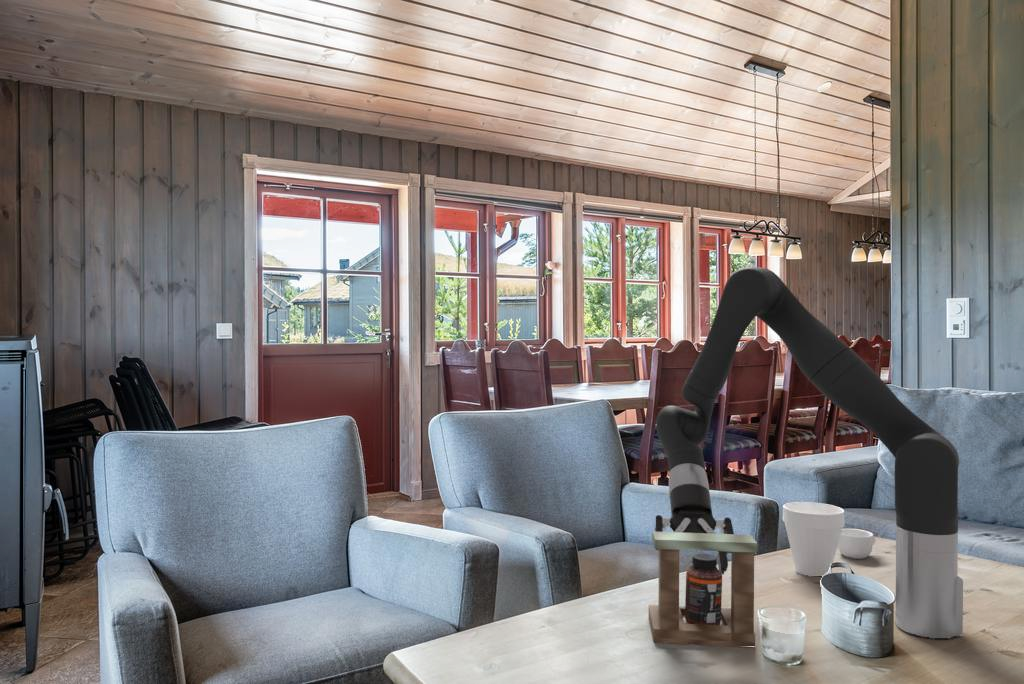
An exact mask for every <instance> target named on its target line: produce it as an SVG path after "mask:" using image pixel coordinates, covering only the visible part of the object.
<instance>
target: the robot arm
mask: <svg viewBox="0 0 1024 684" xmlns="http://www.w3.org/2000/svg"><path fill="white" fill-rule="evenodd" d="M719 299H720V300H719V304H718V307H717V310H716V313H715V316H714V318H713V322H712V324H711V327H710V329H709V333H708V334H707V337H706V339H705V341H704V344H703V346H702V348H701V351H700V352H699V354H698V356H697V358H696V360H695V363H694V364H693V366H692V368H691V370H690V372H689V374H688V376H687V378H686V380H685V381H684V383H683V386H682V388H681V395H682V397H683V398H684V400H686V401H687V402H688V403H690V404H691V405H693V406H695V409H694V410H693V411H692V410H689V409H686V408H682V407H679V406H677V405H673V404H672V405H666V406H664V407H663V408H661V409H660V411H659V412H658V414H657V416H656V421H655V422H656V425H655V427H656V432H657V436H658V438H659V442H660V444H661V447H662V448H663V451H664V453H665V456H666V458H667V464H668V495H669V502H670V515H671V517H670V518H663V516H662V515H659V514H658V515H656V516H655V521H654V532H665V531H666V529H667V527H668V526H669V528H671V530H672V532H681V533H711V534H717V532H716V531H715V529H716V528H717V529H718V530H719V531H720V533H721V534H735V532H734V527H733V523H732V520H731V518H730V517H725V518H724V520H722V519H721V520H716V519H715V517H714V514H713V511H712V510H713V509H712V508H713V507H712V501H711V494H710V486H709V485H710V484H709V479H708V477H707V473H706V467H705V458H704V454H703V451H702V449H701V448H700V446H699V445H701V444H702V443H703V442H704V441H705V440H706V439H707V436H708V434H709V430H710V424H711V418H712V414H713V410H714V406H715V403H716V400H717V398H718V397H719V395H720V393H721V392H722V389H723V387H724V385H725V384H726V381H727V379H728V377H729V375H730V372H731V370H732V367H733V363H734V359H735V355H736V353H737V348H738V346H739V343H740V341H741V339H742V337H743V335H744V333H745V332H746V330H747V328H748V327H749V325H751V323H752V321H753V320H754V319H755V317H757V318H758V319H759V320H761V321H762V322H763V323H764V324H766V326H768V327H769V328H770V329H771V330H772V331H773V332H774V333H775V334H776V335H777V336H778V337H779V338H780V339H781V340H782V341H783V343H784V344H785V346H786V348H787V349H788V351H789V353H790V355H791V357H792V359H793V361H794V362H795V363H796V366H797V367H798V369H799V370H800V371H801V372H802V374H803V375H804V376H805V377H806V379H807V380H808V381H809V382H810V383H811V384H812V385H813V386H814V387H815V388H816V389H817V390H818V391H819V392H820V393H821V394H822V395H823V396H824V397H825V398H826V399H827V400H829V401H830V402H831V404H834V405H835V406H836V407H838V408H839V409H840V410H842V411H843V412H844V413H846V414H847V415H848V416H850V417H851V418H853V419H854V420H856V421H857V422H858V423H860V424H861V425H863V426H864V427H865V428H867V429H868V430H869V431H871V433H873V434H874V436H876V438H878V440H879V441H880V442H881V443H882V444H883V445H884V446H885V447H886V449H887V450H888V451H889V452H890V453H891V454H892V456H893V457H894V510H895V524H896V525H895V531H896V532H895V610H894V612H895V613H894V614H895V626H896V627H898V629H900V630H902V631H904V632H906V633H908V634H911V635H914V634H915V636H919V637H922V638H923V637H924V638H927V637H929V638H928V639H935V638H948V639H950V638H949V637H953V636H956V637H960V636H959V635H963V633H964V580H963V578H962V577H961V576H959V575H958V574H959V573H958V570H959V568H958V567H959V566H958V564H959V563H958V562H959V560H958V559H959V558H958V557H959V553H958V551H959V549H958V546H959V540H958V539H959V510H958V509H959V508H958V507H959V506H958V505H959V504H958V502H959V501H958V500H959V499H958V497H959V492H958V491H959V467H960V466H959V465H960V457H959V454H958V451H957V449H956V447H955V446H954V444H952V442H951V441H950V440H948V439H947V438H946V437H944V436H943V435H942V434H941V433H939V432H938V431H937V430H936V429H935V428H933V427H932V426H930V425H929V424H928V423H926V422H925V421H924V420H922V419H921V418H920V417H919V416H918V415H916V414H915V413H914V412H913V411H911V410H910V409H909V407H907V406H906V405H905V404H904V403H903V402H902V401H901V400H900V398H898V397H897V396H896V394H895V393H894V392H893V391H892V390H891V388H890V387H889V386H888V385H887V384H886V383H885V382H884V381H883V379H882V378H881V377H880V376H879V375H878V374H877V373H876V372H875V371H874V370H873V369H872V368H871V367H870V366H869V365H868V364H867V363H866V361H865V360H863V359H862V358H861V356H859V355H858V354H857V353H856V352H855V351H854V350H853V349H852V348H851V347H850V346H849V345H848V344H847V343H846V342H844V341H843V340H842V339H841V338H840V337H838V336H837V334H835V333H834V332H833V331H832V330H831V329H830V328H828V326H827V325H825V324H824V323H823V322H822V321H820V319H818V318H816V317H815V316H814V315H813V314H812V313H811V312H810V311H809V310H808V309H807V308H806V307H805V306H804V305H803V303H802V302H801V301H800V300H799V299H798V298H797V297H796V295H795V294H794V293H793V292H792V291H791V290H790V289H789V287H788V286H787V285H786V284H785V283H784V281H783V280H782V279H781V278H780V277H779V276H778V274H776V273H775V272H774V271H772V270H771V269H769V268H765V267H760V266H758V267H757V266H755V267H751V266H750V267H749V266H748V267H742V268H739V269H737V270H736V271H734V272H733V273H732V274H731V275H730V276H729V277H728V279H727V280H726V283H725V285H724V287H723V290H722V293H721V297H720V298H719ZM655 550H656V551H659V549H655ZM715 553H716V554H717V556H716V558H717V566H718V567H717V569H718V570H720V572H721V573H722V576H723V575H725V572H727V570H728V566H729V562H728V556H727V554H731V552H728V551H715ZM963 636H964V635H963ZM953 638H954V637H953Z"/></svg>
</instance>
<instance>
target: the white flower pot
mask: <svg viewBox="0 0 1024 684" xmlns="http://www.w3.org/2000/svg"><path fill="white" fill-rule="evenodd" d="M782 521H783V522H784V525H785V530H786V535H787V538H788V543H789V546H790V547H789V548H790V551H791V555H792V561H793V563H794V570H795V572H796V573H798V574H800V575H802V574H803V575H802V576H806V575H808V576H807V577H811V576H822V575H824V574H825V573H826V572H828V570H829V567H830V564H831V563H833V564H834V561H835V556H836V554H837V549H838V542H839V538H840V534H841V531H842V529H843V528H844V527H845V526H846V524H845V510H844V509H843V508H842V507H839V506H836V505H833V504H827V503H823V502H822V503H821V502H814V501H813V502H812V501H795V502H787V503H784V504H783V505H782Z"/></svg>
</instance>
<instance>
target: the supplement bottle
mask: <svg viewBox="0 0 1024 684" xmlns="http://www.w3.org/2000/svg"><path fill="white" fill-rule="evenodd" d="M691 563H692V564H693V565H690V566H689V567H688V568H687V569H686V573H685V575H686V576H685V599H684V600H685V604H684V606H685V619H686V621H687V622H688V623H689V624H705V625H720V623H721V608H722V596H723V595H722V594H723V593H722V592H723V574H722V573H721V572H720V570H719V568H718V567H717V566H718V560H717V556H715V555H713V554H709V553H695V554H693V555H692V561H691Z"/></svg>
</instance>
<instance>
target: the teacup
mask: <svg viewBox="0 0 1024 684" xmlns="http://www.w3.org/2000/svg"><path fill="white" fill-rule="evenodd" d="M875 542H876V538H875V536H874V533H872V532H871V531H868V530H863V529H858V528H842V531H841V534H840V538H839V542H838V546H837V549H838V551H839V552H840V554H841V555H843V556H844V557H846V558H849V559H853V560H856V559H857V560H863V559H866V558H867V557H869V556H871V553H872V552H873V551H872V550H873V547H874V544H875Z"/></svg>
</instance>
